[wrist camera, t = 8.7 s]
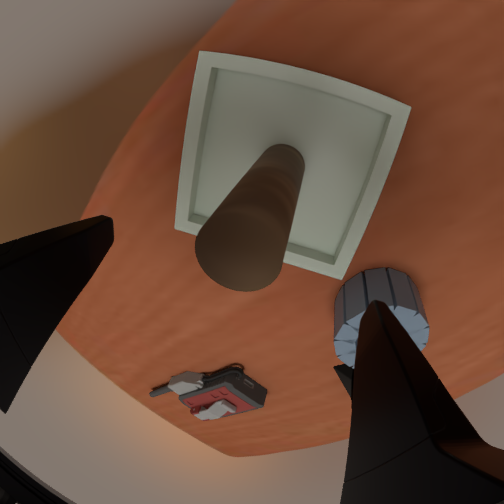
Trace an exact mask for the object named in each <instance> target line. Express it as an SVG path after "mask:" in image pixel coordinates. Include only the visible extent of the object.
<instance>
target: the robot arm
mask: <svg viewBox="0 0 504 504" xmlns="http://www.w3.org/2000/svg"><path fill="white" fill-rule="evenodd" d="M113 241H114V228H113V220H112V218H111V217H108V216H104V215H100V216H96V217H92V218H88V219H84V220H81V221H77V222H73V223H69V224H66V225H62V226H59V227H55V228H52V229H48V230H45V231H41V232H38V233H35V234H32V235H28V236H25V237H22V238H19V239H18V240H17V239H15V240H12V241H9V242H6V243H3V244H0V410H1V411H3V412H4V413H5V414H6V412H7V411H8V409H9V407H10V405H11V403H12V401H13V399H14V398H15V396H16V394H17V392H18V390H19V388H20V386H21V385H22V383H23V381H24V379H25V377H26V376H27V374H28V372H29V370H30V369H31V366H32V365H33V363H34V362H35V360H36V358H37V357H38V355H39V353H40V352H41V350H42V349H43V347H44V345H45V344H46V342H47V341H48V339H49V338H50V336H51V335H52V333H53V331H54V330H55V328H56V327H57V325H58V324H59V322H60V321H61V319H62V318H63V316H64V315H65V314H66V312H67V311H68V309H69V308H70V306H71V305H72V304H73V302H74V301H75V299H76V298H77V297H78V295H79V294H80V292H81V291H82V290H83V288H84V287H85V286H86V284H87V283H88V282H89V280H90V279H91V277H92V276H93V274H94V273H95V271H96V270H97V268H98V266H99V265H100V263H101V262H102V260H103V258H104V257H105V255H106V254H107V252H108V250H109V249H110V247H111V246H112V244H113ZM15 503H17V504H76V503H75V502H73V501H71V500H70V499H68V498H66V497H65V496H63V495H62V494H60V493H59V492H57V491H56V490H54V489H53V488H52V487H50V486H48V485H47V484H46V483H44V482H43V481H42V480H40V479H39V478H38V477H36V476H35V475H33V474H32V473H31V472H30V471H28V470H27V469H26V468H25V467H23V466H22V465H21V464H20V463H19V462H17V461H16V460H15V459H14V458H12V456H10V455H9V454H8V453H7V452H6V451H5V450H4V449H2V448H1V447H0V504H15ZM340 504H504V450H502V449H499V448H496V447H493V446H491V445H489V444H488V443H486V442H485V441H484V440H483V439H482V438H481V437H480V436H479V434H478V433H477V431H476V430H475V429H474V427H473V426H472V424H471V423H470V422H469V420H468V419H467V418H466V416H465V415H464V413H463V412H462V411H461V409H460V408H459V407H458V405H457V404H456V402H455V401H454V400H453V398H452V397H451V395H450V394H449V392H448V391H447V389H446V388H445V386H444V385H443V383H442V382H441V380H440V379H438V376H437V374H436V373H435V371H434V370H433V368H432V367H431V365H430V364H429V362H428V361H427V360H426V358H425V357H424V355H423V354H422V352H421V351H420V349H419V348H418V347H417V345H416V344H415V342H414V341H413V340H412V338H411V337H410V335H409V334H408V333H407V331H406V330H405V328H404V327H403V326H402V324H401V323H400V322H399V320H398V319H397V318H396V316H395V315H394V314H393V312H392V311H391V310H390V308H389V307H388V306H387V304H386V303H385V302H383V301H379V300H376V299H374V300H372V301H371V303H370V304H369V306H368V308H367V309H366V311H365V312H364V314H363V316H362V318H361V320H360V325H359V333H358V341H357V348H356V355H355V364H354V384H353V402H352V415H351V427H350V437H349V447H348V455H347V463H346V471H345V478H344V484H343V489H342V496H341V502H340Z"/></svg>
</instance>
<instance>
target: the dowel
mask: <svg viewBox="0 0 504 504" xmlns="http://www.w3.org/2000/svg"><path fill="white" fill-rule="evenodd" d="M304 171H305V162H304V159H303V157H302V155H301V153H300V152H299V151H298V150H297V149H296V148H294V147H292V146H290V145H287V144H275V145H273V146H270V147H269V148H267V149H266V150H265V151H264V152H263V154H262V155H261V156H260V157H259V158H258V159H257V161H256V162H255V163H254V164H253V165H252V166H251V168H250V169H249V170H248V171H247V172H246V174H245V175H244V176H243V177H242V178H241V180H240V181H239V182H238V183H237V184H236V186H235V187H234V188H233V189H232V190H231V192H230V193H229V194H228V195H227V196H226V198H225V199H224V200H223V201H222V203H221V204H220V205H219V206H218V208H217V209H216V210H215V211H214V213H213V214H212V215H211V216H210V218H209V219H208V220H207V221H206V223H205V224H204V225H203V226H202V228H201V229H200V230H199V232H198V234H197V237H196V241H195V253H196V257H197V259H198V262H199V264H200V266H201V267H202V269H203V270H204V272H205V273H206V274H207V275H208V276H209V277H210V278H211V279H212V280H214V281H215V282H217V283H218V284H220V285H222V286H224V287H226V288H229V289H232V290H236V291H245V292H247V291H256V290H259V289H262V288H265V287H266V286H268V285H270V284H271V283H272V282H273V281H274V280H275V279H276V278H277V276H278V275H279V273H280V271H281V268H282V264H283V260H284V256H285V252H286V248H287V243H288V239H289V235H290V231H291V227H292V223H293V219H294V214H295V210H296V206H297V202H298V197H299V193H300V189H301V184H302V180H303V175H304Z"/></svg>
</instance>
